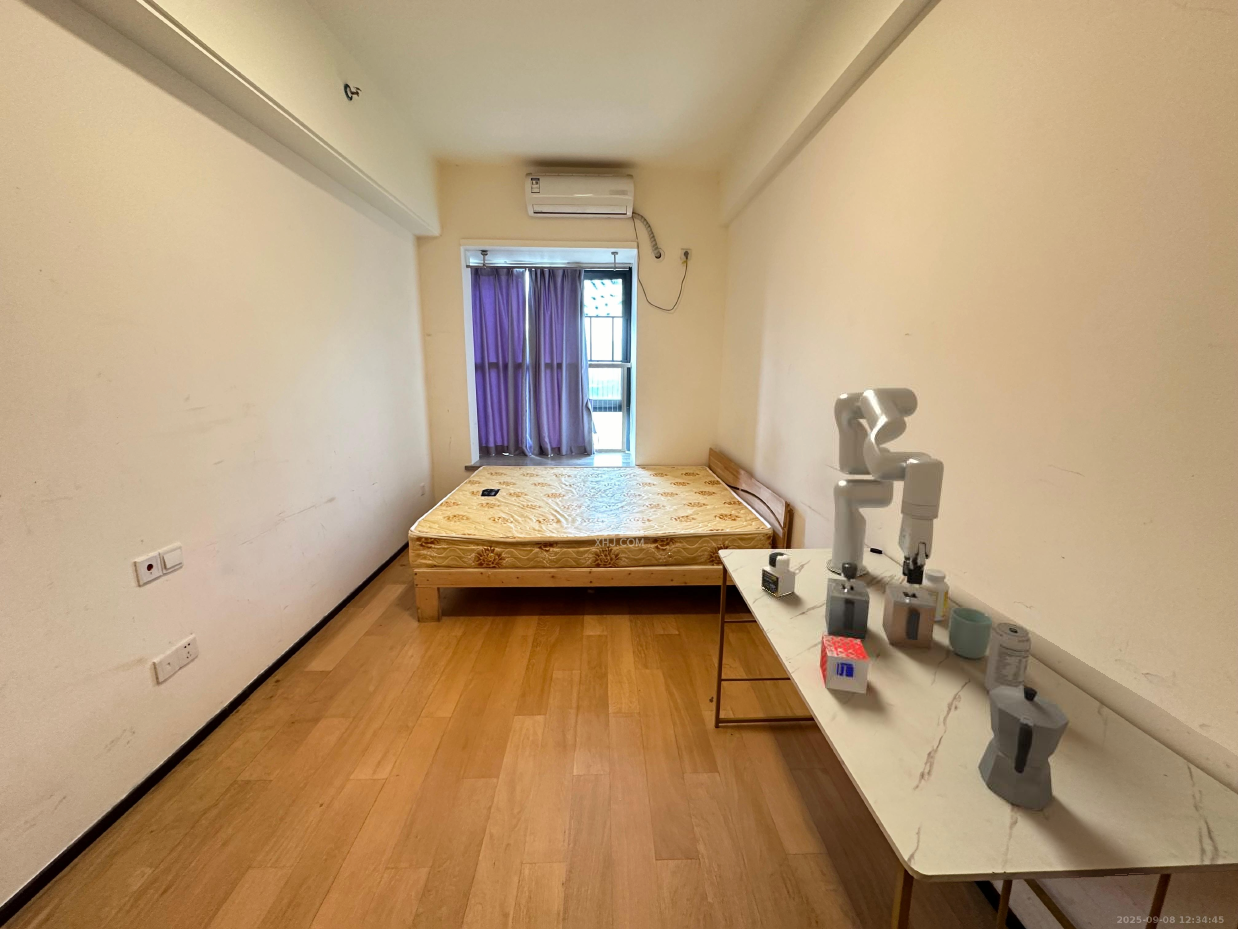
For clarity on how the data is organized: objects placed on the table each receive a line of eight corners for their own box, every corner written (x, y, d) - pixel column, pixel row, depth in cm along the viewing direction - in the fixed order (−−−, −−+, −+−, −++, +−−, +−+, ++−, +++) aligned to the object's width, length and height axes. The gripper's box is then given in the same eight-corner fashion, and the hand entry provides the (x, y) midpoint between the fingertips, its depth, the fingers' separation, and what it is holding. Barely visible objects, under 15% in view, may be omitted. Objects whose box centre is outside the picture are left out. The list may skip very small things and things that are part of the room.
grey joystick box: (825, 617, 125) (827, 577, 123) (860, 622, 122) (864, 582, 120) (828, 637, 116) (831, 595, 113) (866, 643, 113) (870, 600, 110)
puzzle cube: (857, 670, 103) (860, 639, 101) (865, 694, 96) (869, 660, 94) (819, 665, 105) (821, 634, 103) (825, 687, 98) (827, 655, 96)
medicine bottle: (760, 588, 143) (762, 552, 140) (778, 583, 146) (779, 548, 143) (777, 598, 136) (779, 561, 134) (795, 592, 139) (797, 556, 137)
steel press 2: (882, 625, 120) (886, 584, 118) (920, 631, 117) (925, 589, 115) (890, 647, 111) (895, 603, 109) (932, 654, 108) (938, 609, 106)
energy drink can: (1017, 689, 95) (1028, 625, 92) (1024, 708, 90) (1036, 640, 87) (981, 680, 98) (991, 618, 95) (986, 697, 93) (996, 632, 90)
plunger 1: (830, 612, 123) (834, 558, 120) (856, 616, 121) (861, 561, 118) (833, 625, 117) (837, 568, 114) (860, 629, 115) (865, 571, 112)
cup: (994, 665, 103) (1000, 625, 101) (956, 661, 105) (961, 622, 103) (975, 645, 111) (980, 608, 109) (939, 642, 112) (944, 605, 110)
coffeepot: (981, 745, 82) (995, 656, 78) (1052, 775, 75) (1071, 680, 72) (970, 804, 71) (986, 705, 67) (1053, 845, 65) (1075, 738, 61)
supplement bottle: (936, 609, 127) (941, 567, 125) (950, 622, 121) (956, 578, 118) (911, 608, 128) (915, 566, 126) (924, 621, 122) (929, 577, 119)
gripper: (894, 498, 117) (887, 564, 120) (910, 518, 102) (902, 593, 105) (927, 500, 114) (920, 568, 118) (949, 521, 99) (940, 597, 103)
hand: (911, 579), depth 112 cm, fingers closed on plunger 2, 3 cm apart
